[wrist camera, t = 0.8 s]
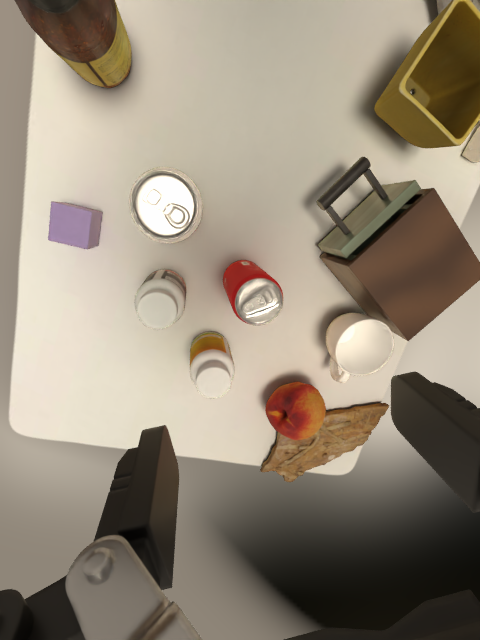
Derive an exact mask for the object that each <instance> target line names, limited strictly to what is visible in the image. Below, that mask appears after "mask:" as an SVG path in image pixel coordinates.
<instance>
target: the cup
mask: <svg viewBox="0 0 480 640" xmlns="http://www.w3.org/2000/svg"><path fill="white" fill-rule="evenodd" d="M326 345H327V349H328V352H329V354H330V356H331V359H330V372H331V376H332V378H333V379H334V380H335V381H337V382H340V383H344V382H346V381H347V380H348V378H349V377H350V375H354V376H365V375H369V374H371V373H374V372H376V371H377V370H379V369H380V368H381V367H382V366H384V365H385V363H386V362H387V361H388V359H389V358H390V356H391V354H392V351H393V347H394V337H393V334H392V332H391V330H390V328H389V327H388V326H387V325H386V324H385V323H383V322H381V321H380V320H378V319H376V318H374V317H372V316H370V315H367V314H363V313H347V314H343V315H341V316H339V317H337V318H335V319H334V320H333V321H332V322H331V323H330V325H329V327H328V329H327V332H326ZM338 366H339V367H340V368H341V369H342V370H343V371H342V374H341V375H339V372H338Z"/></svg>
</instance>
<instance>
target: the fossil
mask: <svg viewBox="0 0 480 640" xmlns="http://www.w3.org/2000/svg"><path fill="white" fill-rule="evenodd" d="M388 407H389V405H388V404H386V403H377V404H370V405H363V406H355V407H353V408H350V409H339V410H333V411H326V413H325V418H324V421H323V424H322V426H321V428H320V429H319V430H318V431H317V432H316V433H315V434H314V435H313V436H311V437H309V438H307V439H303V440H292V439H290V438H288V437H286V436H284V435H282V434H281V433H279V432H278V433H277V439H276V440H277V442H276V445H275V446H274V447H273V448H272V451H271V454H270V455H269V457H268V459H267V460H266V461H265V462H264V463H263V465H262V468H261V469H260V470H261V472H268V471H271V470H272V471H276V472H277V473H278V474H279V475H283V477H284V480H285V481H287V482H293V481H294V480H295V479H296V478H297V477H298V476H299V475H300V476H302V475H303V473H304V472H305V471H306V470H309V469H312V468H313V467H317V466H320V465H325V464H326V463H327V462H330V461H331V460H333V459H335V458H337V457H339V456H341V455H342V454H343V453H345V452H349V451H353V450H354V449H355V448H356V447H357V446H360V445H363V444H364V443H365V441H367V440H368V437H369V435H371V431H372V430H373V429H374V428H375V427H376V425H377V424H378V422H379V420H380V418H381V416H383V415H384V414H385V412H386V411H387V409H388Z"/></svg>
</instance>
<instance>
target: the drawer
mask: <svg viewBox="0 0 480 640" xmlns="http://www.w3.org/2000/svg"><path fill="white" fill-rule="evenodd" d="M369 167H370V162H369V160H368V159H367V158H365V157H361V158H360V159H359V160H358V161H357V162H356V163H355V164H354V165H353V166H352V167H351V168H350V169H349V170H348V171H347V172H346V173H345V174H344V175H343V176H342V177H340V178H339V179H338V180H337V181H336V182H335V183H334V184H333V185H332V186H331V187H330V188H329V189H328V190H327V191H326V192H325V193H324V194H323V195H322V196H321V197H320V198H319V199H318V200H317V201H316V203H317V205H318V206H319V207H320V208H321V209H322V210H326V212H327V213H328V214H329V216H330V217H331V218H332V220H333V221H334V222H335V223H336V225H337V227H336V228H335V229H334V230H333V231H332V232H331V233H330V234H328V235H327V236H326V237H325V238H324V239H323V240H322V241H321V242H320V243H319V244H318V246H319V247H320V249H321V250H322V251H323V252H327V253H330V254H334V256H336V257H339V258H343V259H346V260H350V261H351V260H352V259H353V258H355V257H356V256H357V255H358V254H359V253H360V252H361V251H362V250H363V249H364V248H365V247H366V246H368V245H369V244H370V243H371V242H372V241H373V240H374V239H375V238H376V237H377V236H378V235H379V234H380V233H382V232H383V231H384V230H385V229H386V228H387V227H388V226H389V225H390V224H391V223H392V222H393V221H395V220H396V219H397V218H398V217H399V216H400V215H401V214H402V213H403V212H404V211H405V210H406V209H408V208H409V207H410V206H411V205H412V204H405V203H406V202H407V201H408V200H409V199H410V198H412V197H413V196H414V195H415V194H416V193H417V192H418V191H419V190H420V189H421V188H420V186H419V185H418V183H417V182H416V180H413V181H407V182H400V183H394V184H388V185H380V184H379V182H378V181H377V179H376V178H375V176H374V175H373V173H372V172H371V170H370V169H368V168H369ZM362 174H364V176H365V177H366V178H367V180H368V181H369V183H370V184H371V186H372V187H373V189H374V190H375V191H374V192H373V193H372V194H371V195H370V196H369V197H367V198H366V199H365V200H364V201H363V202H362V203H361V204H360V205H359V206H358V207H357V208H356V209H355V210H354V211H353V212H352V213H351V214H350V215H348V216H347V217H346V218H345V219H344V220H343V221H342V220H341V218H340V217H339V216H338V214H337V213H336V212H335V211H334V209H333V208H332V207H331V206H330V205H331V204H332V203H333V202H334V201H335V200H336V199H337V198H338V197H339V196H340V195H341V194H342V193H343V192H345V191H346V190H347V189H348V188H349V187H350V186H351V185H352V184H353V183H354V182H355V181H356V180H357V179H358V178H359V177H360V176H361V175H362Z"/></svg>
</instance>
